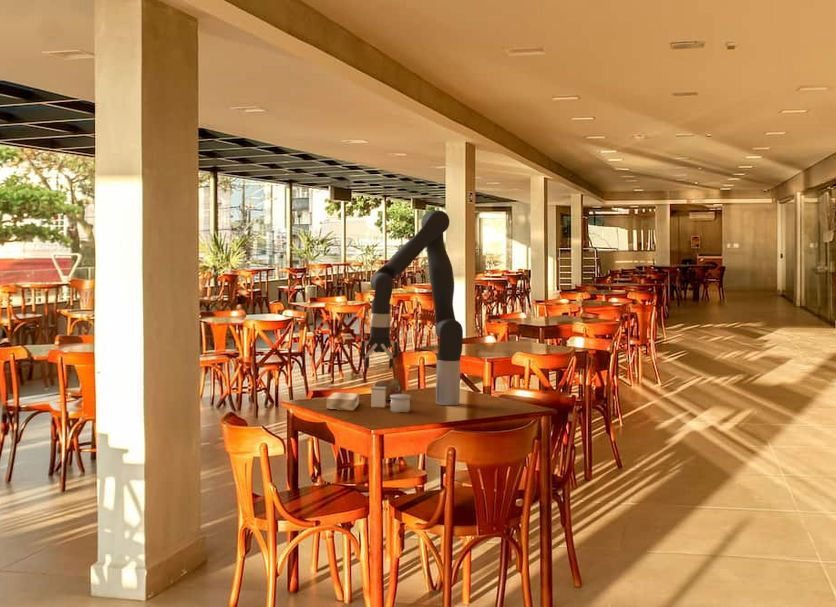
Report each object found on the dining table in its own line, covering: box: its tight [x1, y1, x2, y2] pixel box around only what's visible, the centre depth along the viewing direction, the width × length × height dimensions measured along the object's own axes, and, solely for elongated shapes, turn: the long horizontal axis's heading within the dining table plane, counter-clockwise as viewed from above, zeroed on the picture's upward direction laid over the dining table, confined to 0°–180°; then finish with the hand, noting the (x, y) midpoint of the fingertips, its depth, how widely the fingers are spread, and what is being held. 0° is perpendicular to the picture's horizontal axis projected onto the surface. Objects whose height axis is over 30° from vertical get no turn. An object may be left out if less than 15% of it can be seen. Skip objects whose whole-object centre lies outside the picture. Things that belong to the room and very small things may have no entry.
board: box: [326, 392, 360, 411], centre depth 353 cm, size 10×16×4 cm, turn 177°
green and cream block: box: [370, 385, 387, 408], centre depth 356 cm, size 5×5×7 cm
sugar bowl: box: [390, 393, 411, 413], centre depth 345 cm, size 8×8×6 cm
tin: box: [374, 378, 403, 402], centre depth 371 cm, size 15×3×8 cm, turn 143°
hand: (378, 368), depth 355 cm, fingers open, 8 cm apart
